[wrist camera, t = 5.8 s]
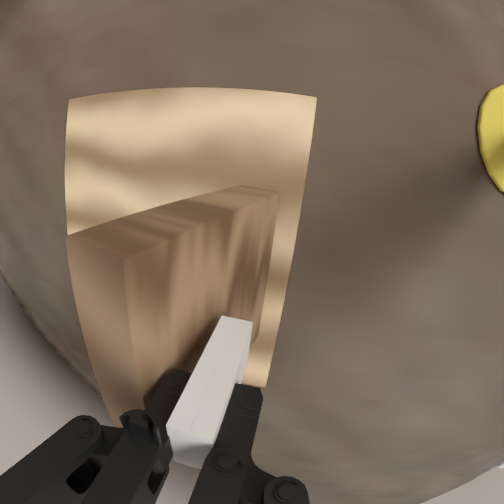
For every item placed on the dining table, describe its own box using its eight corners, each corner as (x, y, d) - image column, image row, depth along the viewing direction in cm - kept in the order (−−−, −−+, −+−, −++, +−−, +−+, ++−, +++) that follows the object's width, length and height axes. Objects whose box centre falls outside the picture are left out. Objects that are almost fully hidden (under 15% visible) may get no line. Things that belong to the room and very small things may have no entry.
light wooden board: (71, 99, 20) (69, 99, 20) (316, 98, 18) (316, 97, 17) (86, 330, 30) (84, 332, 30) (265, 384, 27) (265, 387, 27)
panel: (238, 184, 20) (63, 235, 8) (280, 192, 19) (122, 259, 7) (224, 323, 25) (116, 435, 13) (258, 335, 24) (160, 464, 12)
